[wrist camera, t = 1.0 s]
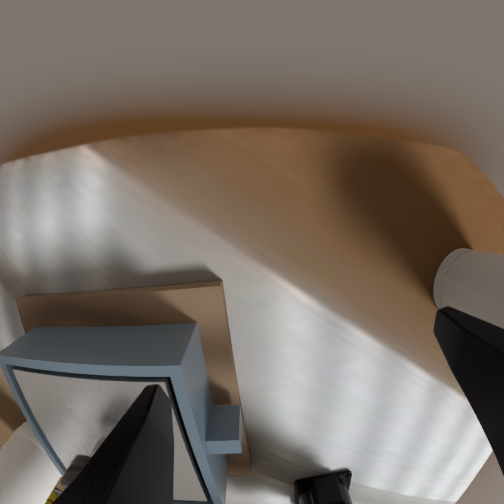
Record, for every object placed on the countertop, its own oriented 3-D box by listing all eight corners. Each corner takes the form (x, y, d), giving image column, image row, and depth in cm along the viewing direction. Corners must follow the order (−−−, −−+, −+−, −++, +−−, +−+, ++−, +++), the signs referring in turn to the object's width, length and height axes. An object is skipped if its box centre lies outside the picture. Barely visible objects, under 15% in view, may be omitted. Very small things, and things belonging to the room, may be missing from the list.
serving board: (251, 464, 25) (252, 474, 23) (89, 454, 25) (85, 462, 23) (222, 280, 21) (220, 285, 20) (25, 295, 21) (15, 299, 20)
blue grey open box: (251, 460, 23) (252, 509, 17) (90, 450, 23) (70, 487, 17) (228, 319, 20) (221, 363, 14) (37, 326, 20) (-4, 354, 14)
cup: (421, 252, 21) (531, 291, 10) (483, 229, 21) (583, 249, 9) (427, 336, 23) (510, 406, 11) (486, 307, 22) (569, 351, 11)
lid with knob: (208, 496, 17) (202, 548, 12) (77, 477, 18) (57, 516, 12) (167, 376, 15) (139, 440, 10) (16, 365, 15) (-26, 401, 10)
